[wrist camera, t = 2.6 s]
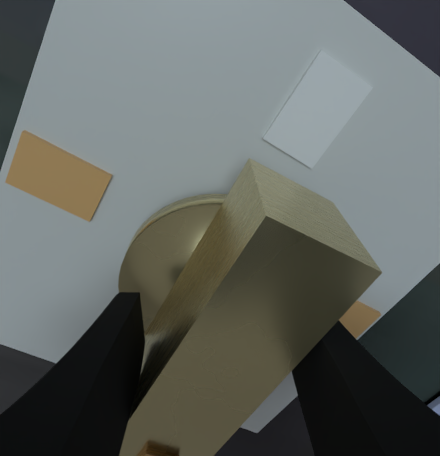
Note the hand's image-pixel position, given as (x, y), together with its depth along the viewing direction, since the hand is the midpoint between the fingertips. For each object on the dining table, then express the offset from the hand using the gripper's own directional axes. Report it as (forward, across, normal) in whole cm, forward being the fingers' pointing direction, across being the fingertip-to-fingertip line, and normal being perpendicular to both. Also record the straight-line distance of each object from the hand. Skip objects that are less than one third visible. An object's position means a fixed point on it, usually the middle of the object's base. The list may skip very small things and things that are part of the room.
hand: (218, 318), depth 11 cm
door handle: (+2, 0, 0) cm, 2 cm away
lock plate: (+5, 0, 0) cm, 5 cm away
